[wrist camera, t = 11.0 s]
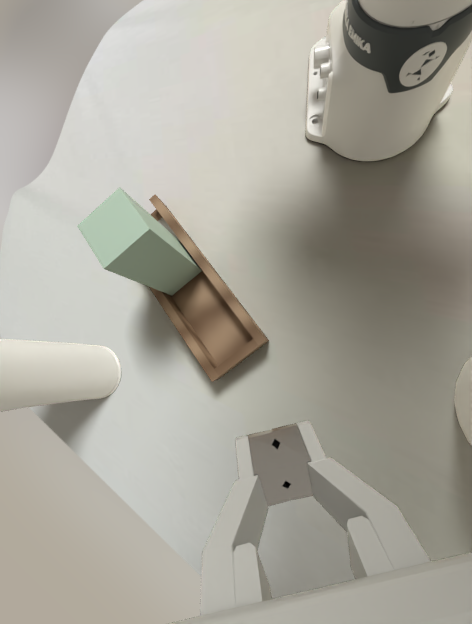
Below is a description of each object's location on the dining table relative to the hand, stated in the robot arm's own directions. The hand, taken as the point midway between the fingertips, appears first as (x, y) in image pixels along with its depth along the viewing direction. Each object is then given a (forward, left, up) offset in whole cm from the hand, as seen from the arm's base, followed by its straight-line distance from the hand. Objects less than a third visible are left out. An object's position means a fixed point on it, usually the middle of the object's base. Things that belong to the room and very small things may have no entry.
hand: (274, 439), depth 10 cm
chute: (-14, -13, -25) cm, 31 cm away
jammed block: (-17, -14, -23) cm, 32 cm away
